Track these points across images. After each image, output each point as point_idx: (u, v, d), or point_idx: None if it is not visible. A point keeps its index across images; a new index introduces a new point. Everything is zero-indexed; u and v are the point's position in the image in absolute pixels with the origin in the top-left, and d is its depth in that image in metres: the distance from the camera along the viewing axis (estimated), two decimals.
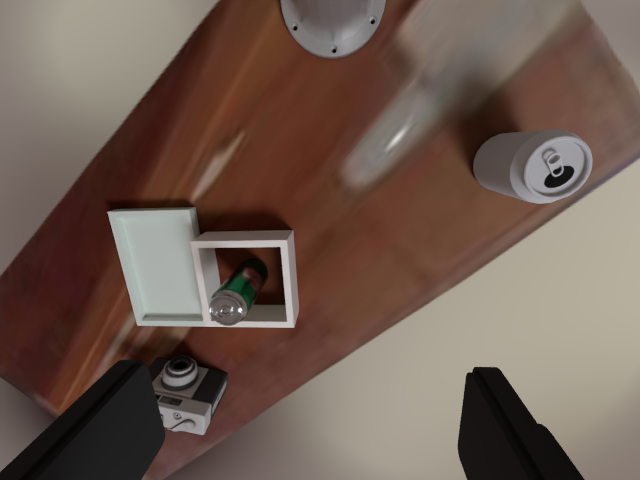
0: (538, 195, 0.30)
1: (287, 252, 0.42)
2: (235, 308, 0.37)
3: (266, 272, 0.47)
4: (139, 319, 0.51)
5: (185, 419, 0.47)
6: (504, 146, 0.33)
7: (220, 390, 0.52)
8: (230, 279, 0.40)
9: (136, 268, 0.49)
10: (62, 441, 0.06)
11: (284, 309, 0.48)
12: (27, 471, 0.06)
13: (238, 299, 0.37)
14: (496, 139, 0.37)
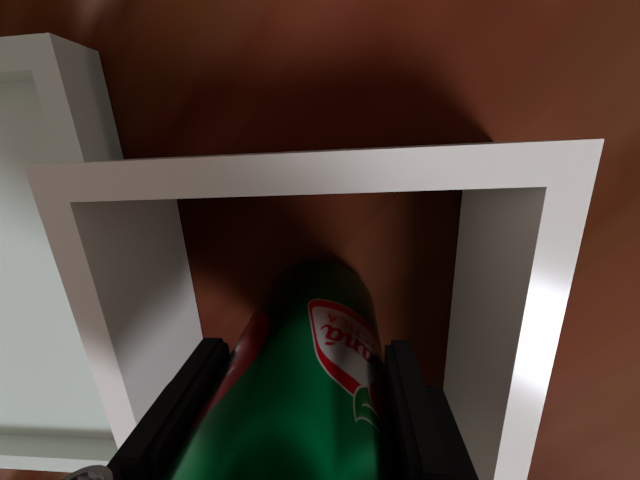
0: None
1: (578, 221, 0.07)
2: None
3: (374, 311, 0.12)
4: None
5: None
6: None
7: None
8: (247, 406, 0.06)
9: None
10: (180, 402, 0.07)
11: None
12: (162, 424, 0.06)
13: None
14: None
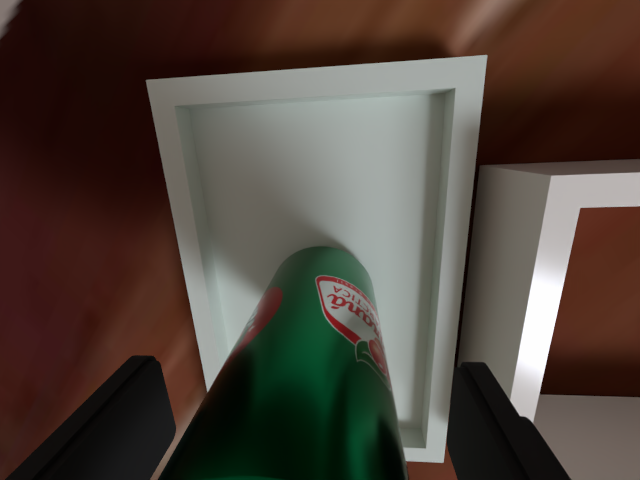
0: None
1: None
2: None
3: None
4: None
5: None
6: None
7: None
8: (269, 348, 0.07)
9: (226, 289, 0.16)
10: (81, 433, 0.06)
11: None
12: (49, 460, 0.06)
13: None
14: None
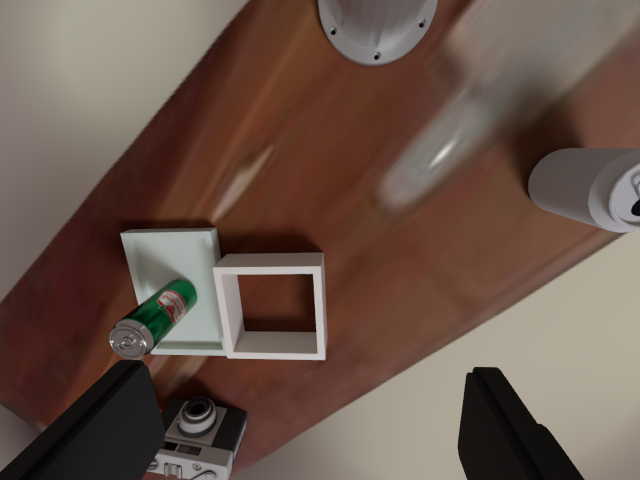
0: (624, 224, 0.26)
1: (320, 279, 0.38)
2: (138, 340, 0.33)
3: (194, 294, 0.43)
4: None
5: (206, 470, 0.43)
6: (576, 166, 0.29)
7: (240, 433, 0.49)
8: (141, 305, 0.36)
9: (150, 293, 0.45)
10: (62, 441, 0.06)
11: (312, 337, 0.44)
12: (27, 471, 0.06)
13: (141, 331, 0.33)
14: (559, 156, 0.33)
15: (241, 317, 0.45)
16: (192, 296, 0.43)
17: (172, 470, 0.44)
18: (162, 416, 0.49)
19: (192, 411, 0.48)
